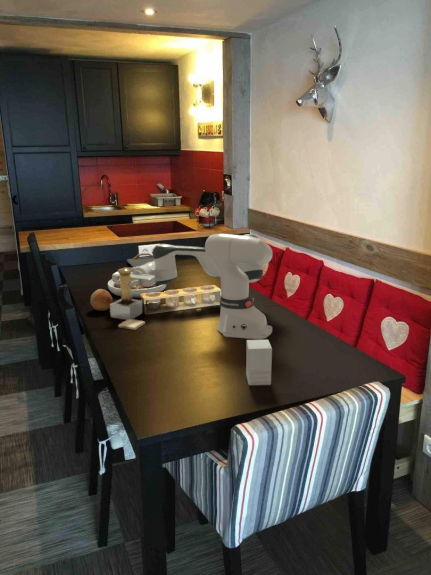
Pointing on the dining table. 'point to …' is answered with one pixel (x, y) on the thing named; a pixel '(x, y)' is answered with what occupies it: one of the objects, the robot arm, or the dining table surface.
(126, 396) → the dining table surface
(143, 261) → the serving board
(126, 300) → the cover plug
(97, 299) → the onion
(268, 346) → the supplement box
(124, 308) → the housing
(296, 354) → the dining table surface
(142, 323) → the coaster
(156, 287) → the bowl
